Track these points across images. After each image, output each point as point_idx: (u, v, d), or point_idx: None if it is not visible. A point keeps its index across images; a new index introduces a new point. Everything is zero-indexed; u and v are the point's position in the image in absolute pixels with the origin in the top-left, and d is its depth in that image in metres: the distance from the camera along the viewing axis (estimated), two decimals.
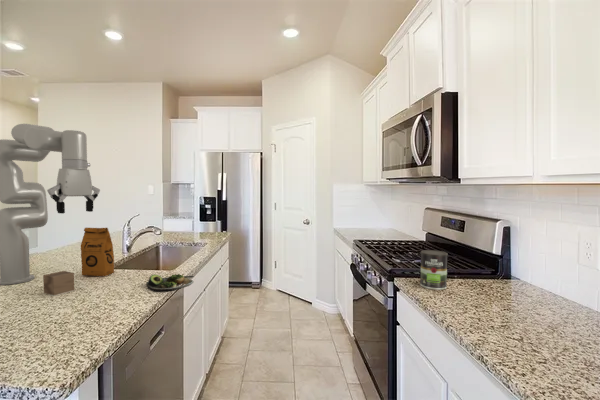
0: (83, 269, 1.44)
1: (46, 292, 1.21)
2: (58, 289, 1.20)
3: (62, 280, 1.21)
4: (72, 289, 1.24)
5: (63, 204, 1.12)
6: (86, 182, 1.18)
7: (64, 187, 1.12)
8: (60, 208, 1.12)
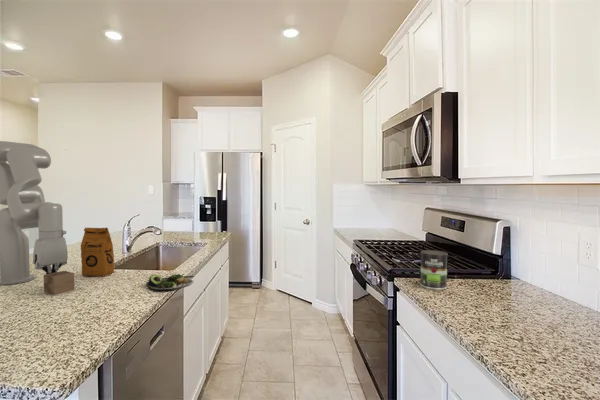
0: (83, 269, 1.44)
1: (46, 292, 1.21)
2: (58, 289, 1.20)
3: (62, 280, 1.21)
4: (72, 289, 1.24)
5: None
6: (62, 250, 1.26)
7: (40, 258, 1.20)
8: None
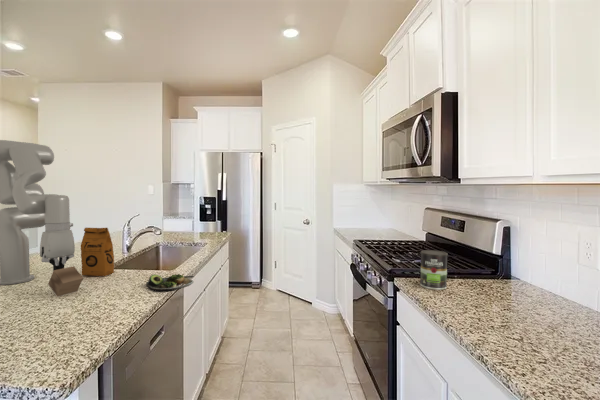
0: (83, 269, 1.44)
1: (50, 286, 1.19)
2: (63, 291, 1.19)
3: (70, 284, 1.19)
4: (75, 290, 1.24)
5: (59, 267, 1.22)
6: (69, 243, 1.24)
7: (47, 250, 1.18)
8: None
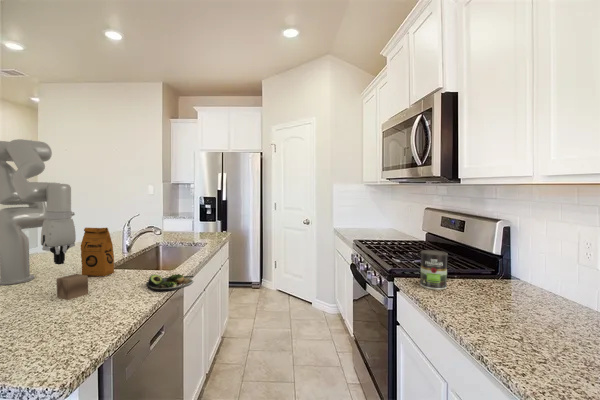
0: (83, 269, 1.44)
1: (57, 283, 1.18)
2: None
3: None
4: None
5: (60, 256, 1.22)
6: (70, 232, 1.24)
7: (48, 239, 1.17)
8: (57, 260, 1.21)
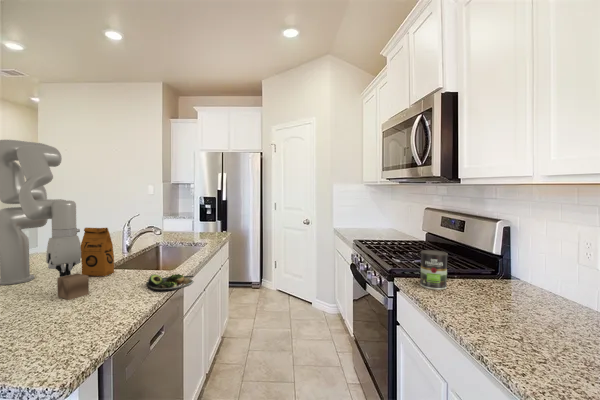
0: (83, 269, 1.44)
1: (58, 283, 1.17)
2: None
3: None
4: None
5: (66, 274, 1.20)
6: (75, 249, 1.22)
7: (53, 257, 1.16)
8: None
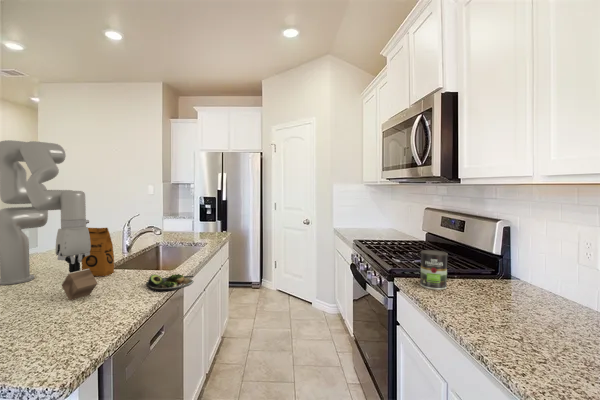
0: (83, 269, 1.44)
1: (67, 277, 1.15)
2: None
3: None
4: None
5: (75, 265, 1.17)
6: (85, 240, 1.19)
7: (63, 248, 1.13)
8: (72, 269, 1.17)
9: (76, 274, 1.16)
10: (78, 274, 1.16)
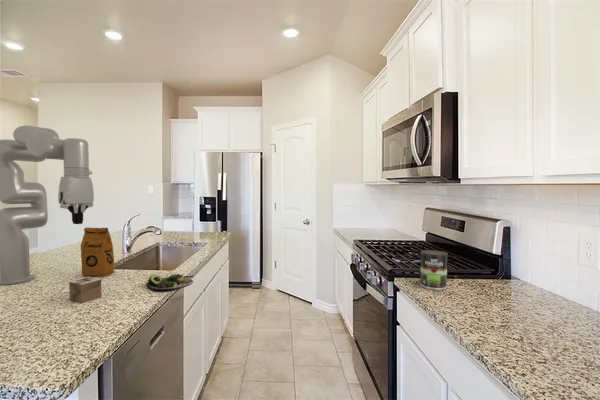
0: (83, 269, 1.44)
1: (77, 284, 1.12)
2: None
3: None
4: None
5: (78, 215, 1.16)
6: (88, 190, 1.18)
7: (66, 195, 1.11)
8: (75, 219, 1.15)
9: (87, 285, 1.13)
10: (88, 286, 1.14)
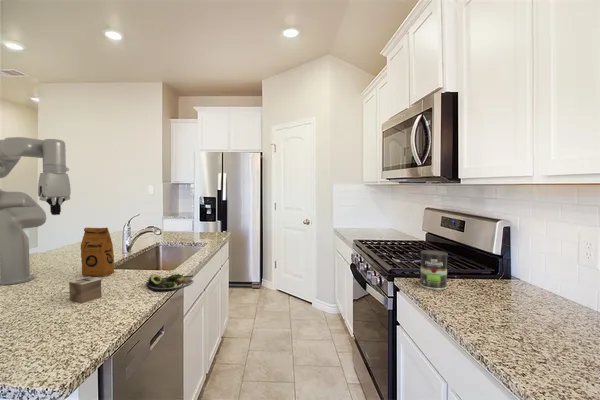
0: (83, 269, 1.44)
1: (77, 284, 1.12)
2: None
3: None
4: None
5: (56, 207, 1.30)
6: (65, 185, 1.33)
7: (44, 189, 1.26)
8: (53, 210, 1.30)
9: (87, 285, 1.13)
10: (88, 286, 1.14)
